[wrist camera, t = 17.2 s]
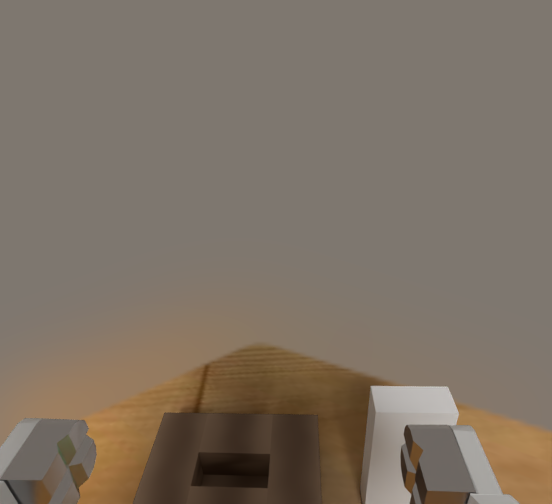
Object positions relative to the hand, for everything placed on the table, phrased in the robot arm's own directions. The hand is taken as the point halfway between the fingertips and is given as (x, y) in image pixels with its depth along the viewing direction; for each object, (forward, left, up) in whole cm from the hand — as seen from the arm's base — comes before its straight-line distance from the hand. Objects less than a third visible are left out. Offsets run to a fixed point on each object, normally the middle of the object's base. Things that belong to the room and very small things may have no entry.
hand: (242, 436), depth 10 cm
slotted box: (-5, +15, -30) cm, 34 cm away
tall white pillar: (+10, +15, -30) cm, 35 cm away
